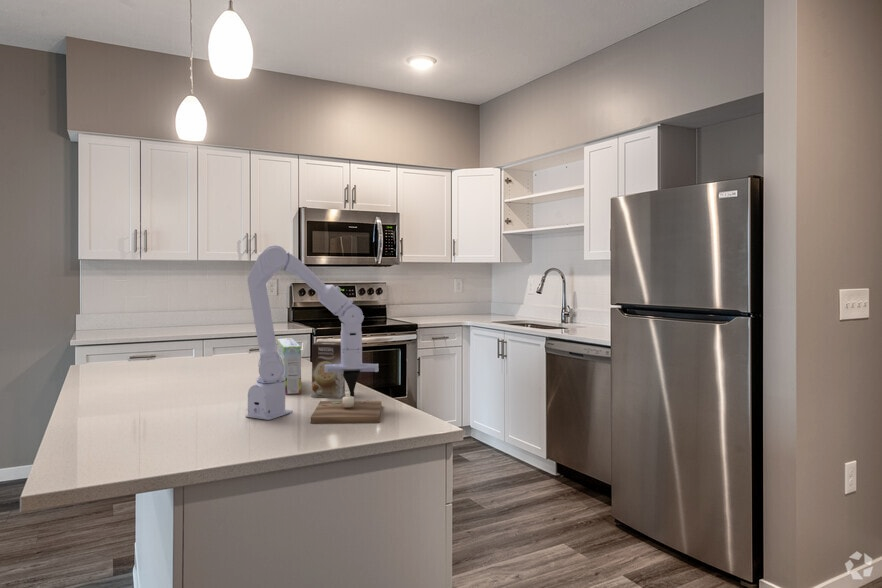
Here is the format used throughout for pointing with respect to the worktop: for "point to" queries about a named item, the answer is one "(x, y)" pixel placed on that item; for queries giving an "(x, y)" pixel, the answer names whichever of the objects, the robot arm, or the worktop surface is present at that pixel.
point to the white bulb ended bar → (348, 400)
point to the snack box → (291, 364)
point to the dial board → (347, 412)
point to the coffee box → (331, 381)
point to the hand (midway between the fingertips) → (351, 398)
